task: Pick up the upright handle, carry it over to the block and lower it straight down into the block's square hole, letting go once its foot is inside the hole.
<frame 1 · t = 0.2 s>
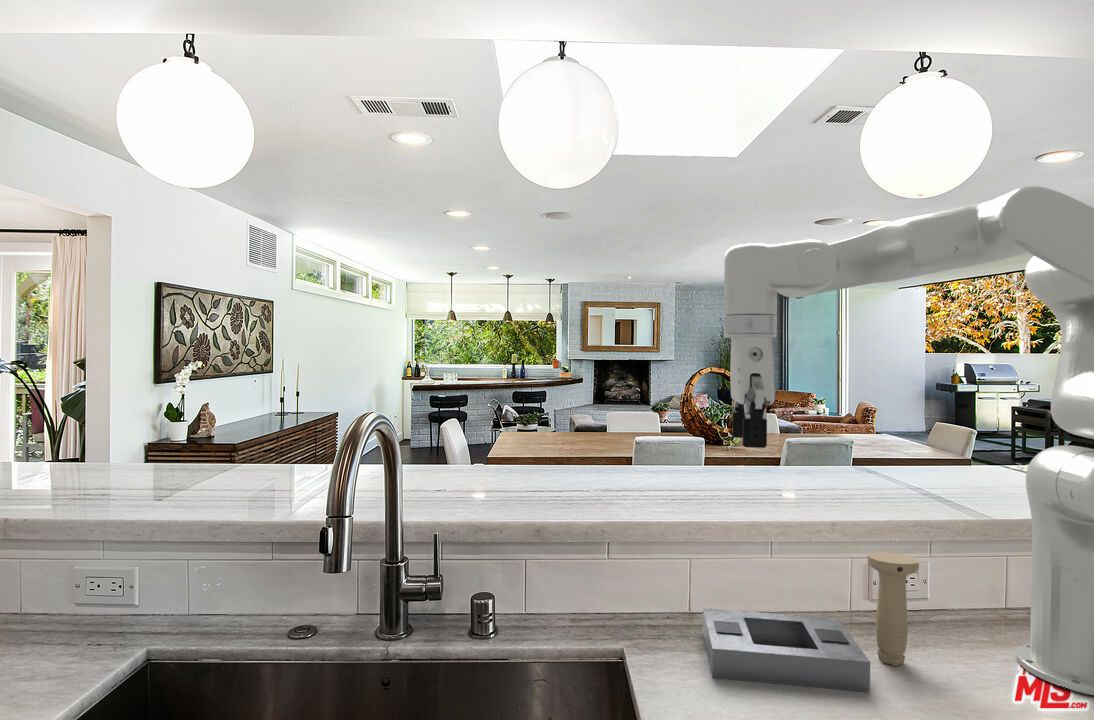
hand: (748, 442, 90), 31 cm above the table, tool pointing down, fingers open, 9 cm apart
block: (778, 660, 86), on the table
handle: (890, 662, 86), on the table
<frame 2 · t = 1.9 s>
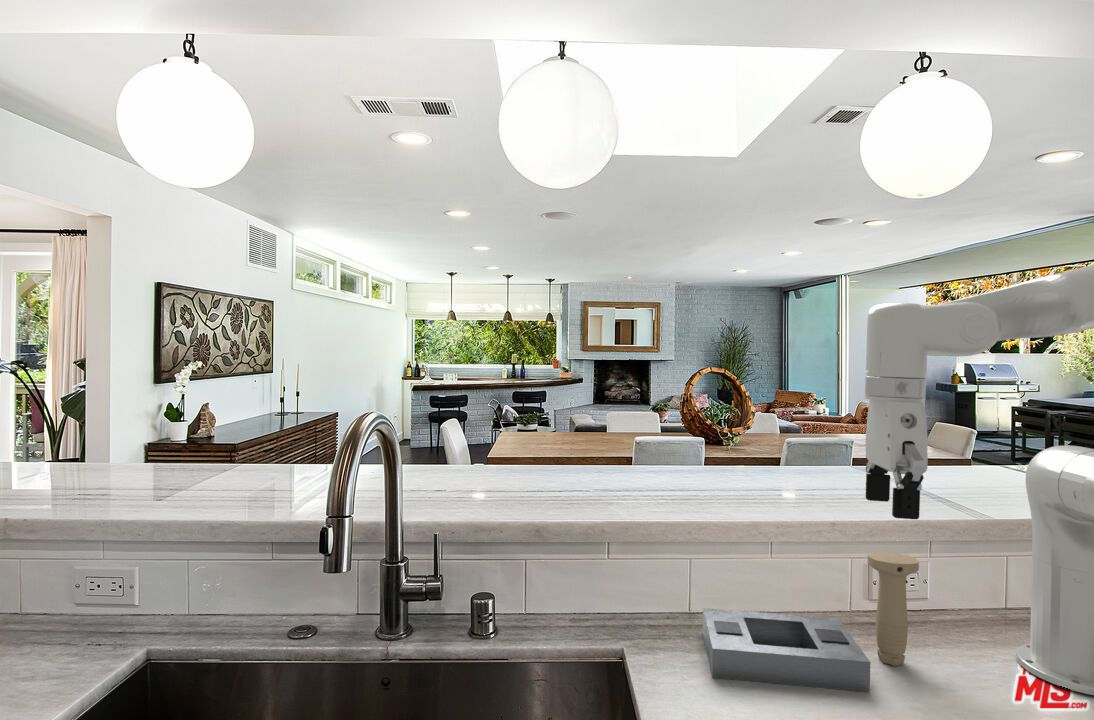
hand: (890, 508, 86), 22 cm above the table, tool pointing down, fingers open, 9 cm apart
nothing on the table moved.
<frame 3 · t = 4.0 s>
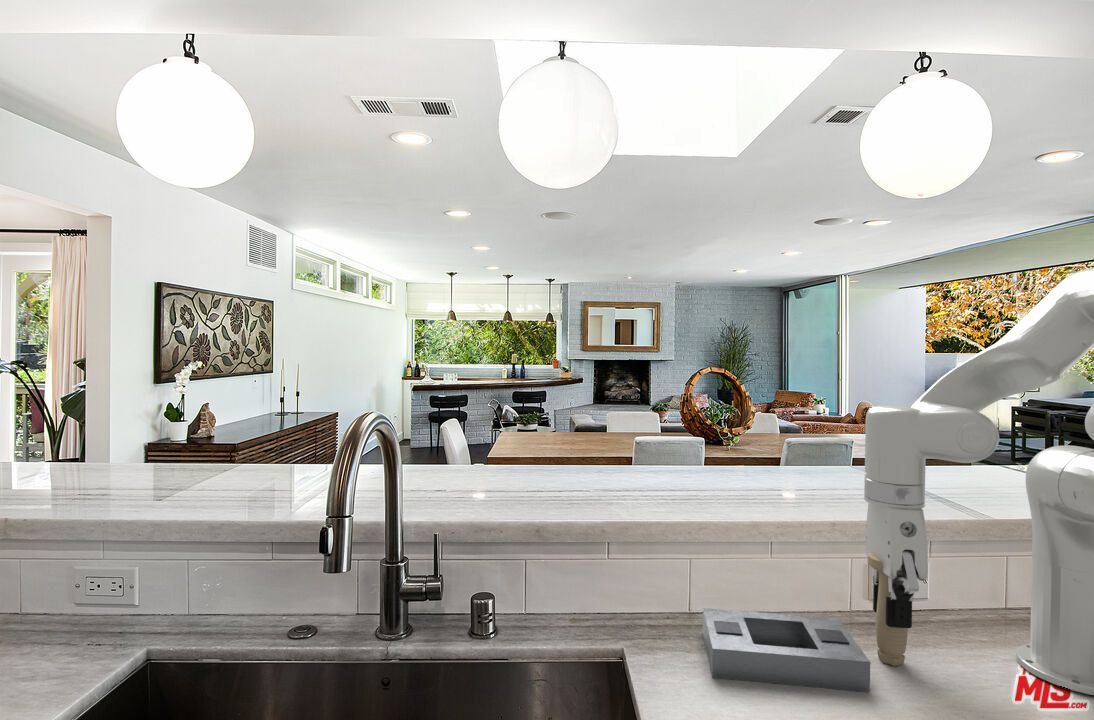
hand: (891, 618, 86), 6 cm above the table, tool pointing down, fingers closed on handle, 3 cm apart
handle: (890, 662, 86), on the table, touching gripper
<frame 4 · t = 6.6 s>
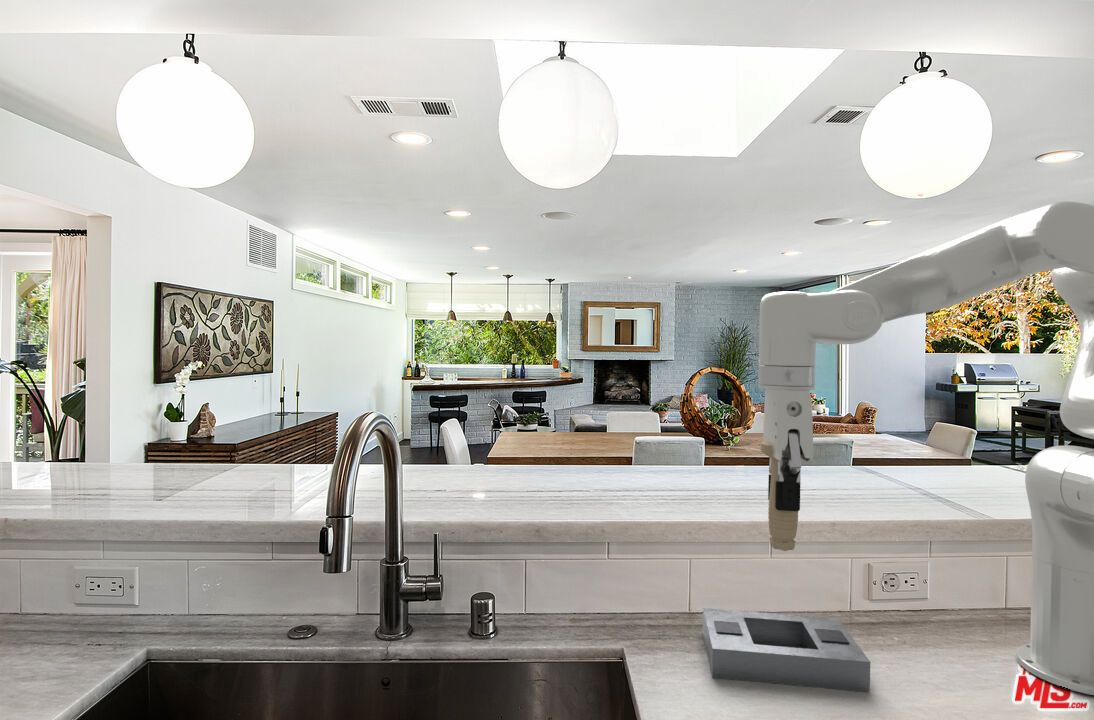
hand: (783, 504, 86), 22 cm above the table, tool pointing down, fingers closed on handle, 3 cm apart
handle: (782, 549, 86), point 16 cm above the table, touching gripper
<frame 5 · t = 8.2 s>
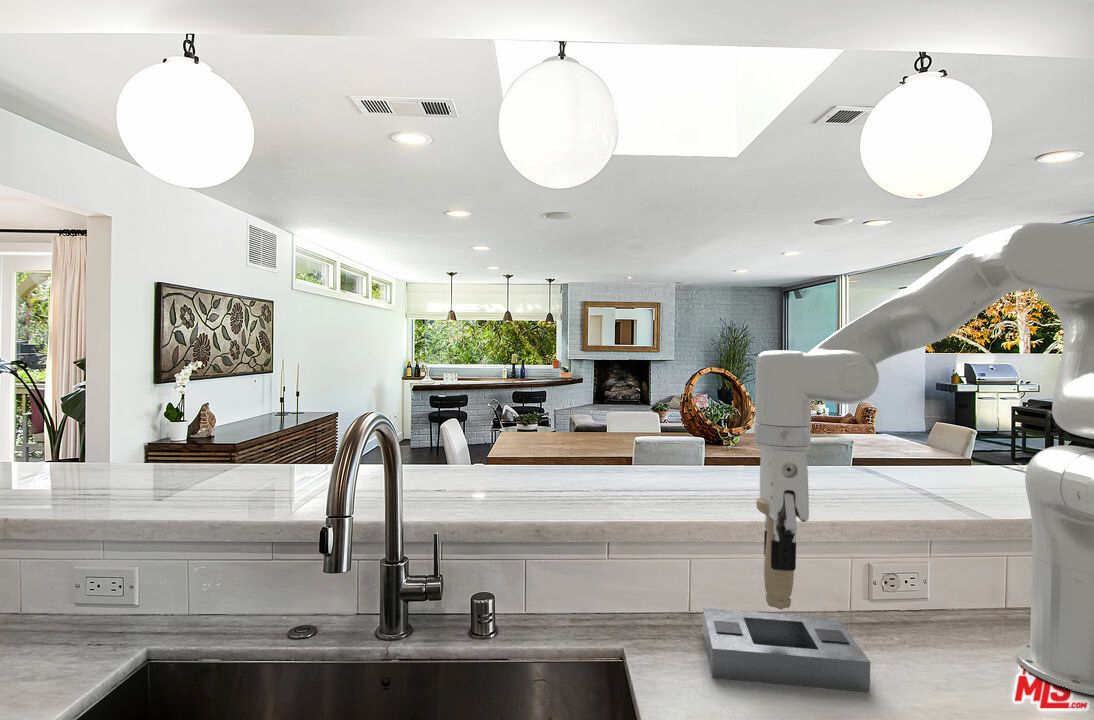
hand: (779, 562, 86), 14 cm above the table, tool pointing down, fingers closed on handle, 3 cm apart
handle: (778, 606, 86), point 8 cm above the table, touching gripper
when the fingers open (8 cm above the table, at t = 9.6 s): handle drops 2 cm, resting in block.
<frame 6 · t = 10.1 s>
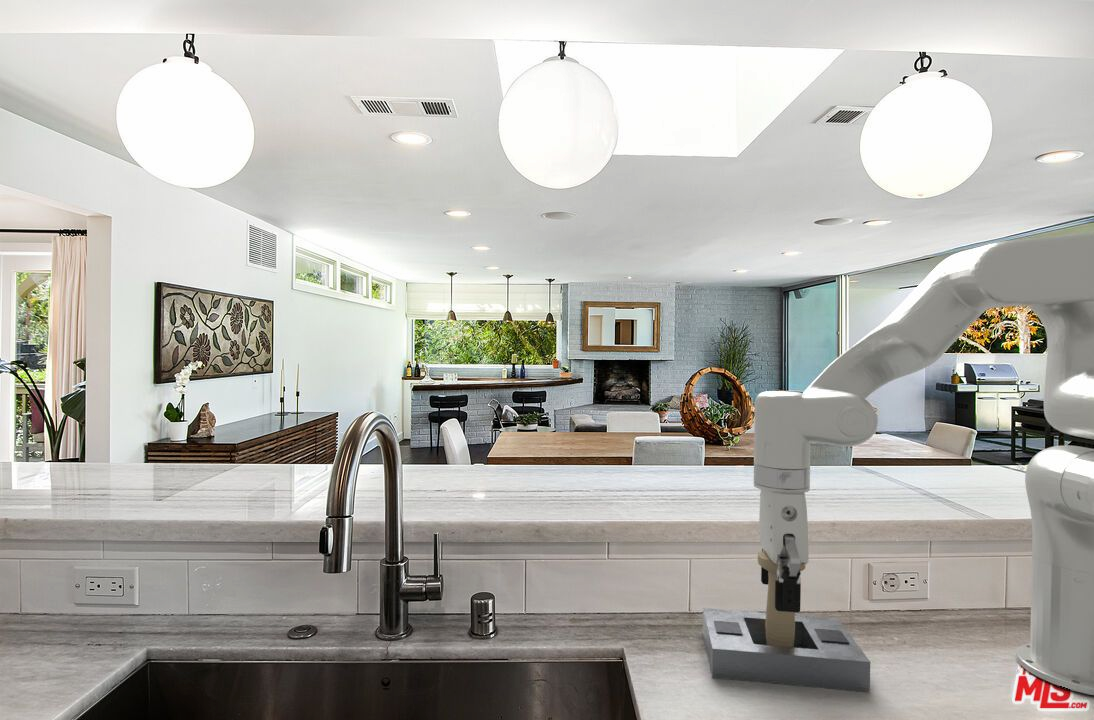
hand: (779, 596, 86), 9 cm above the table, tool pointing down, fingers open, 9 cm apart
handle: (779, 661, 86), resting in block
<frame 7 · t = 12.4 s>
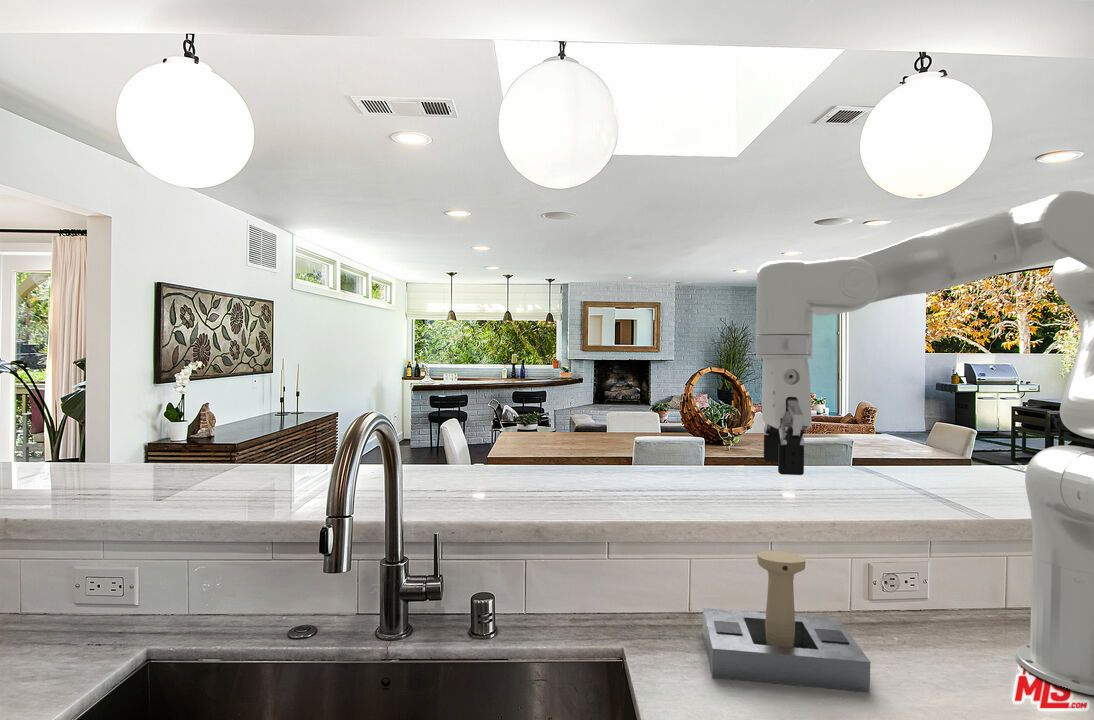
hand: (782, 467, 86), 28 cm above the table, tool pointing down, fingers open, 9 cm apart
nothing on the table moved.
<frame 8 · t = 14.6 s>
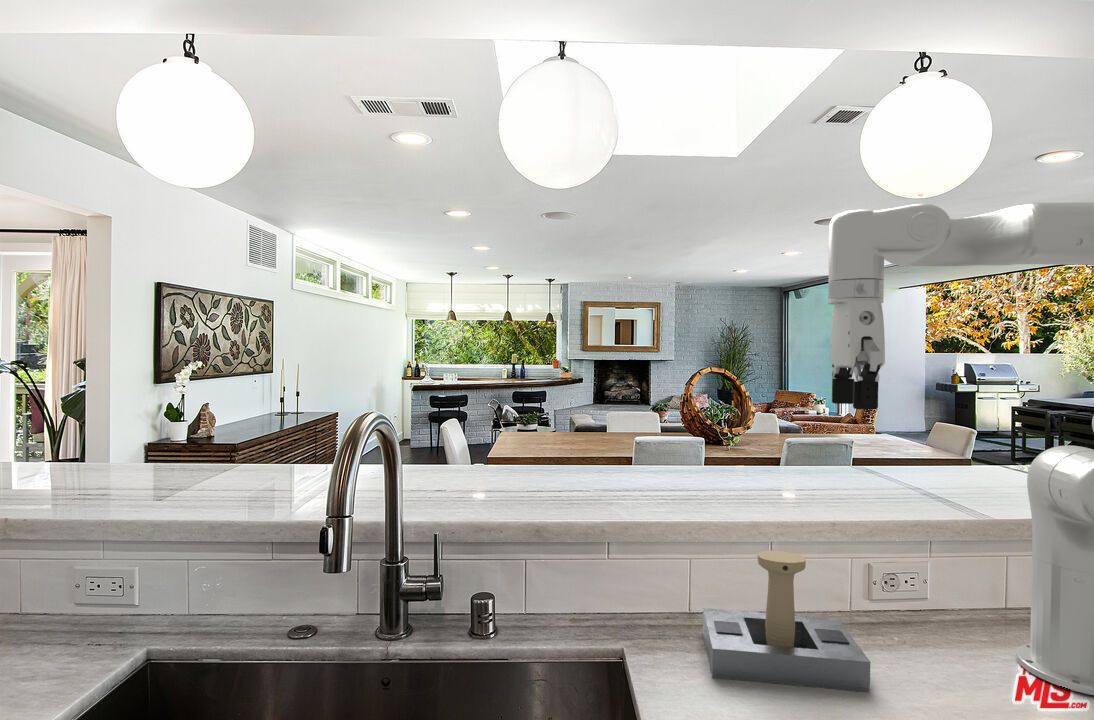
hand: (853, 406, 91), 36 cm above the table, tool pointing down, fingers open, 9 cm apart
nothing on the table moved.
at the end: handle 0.1 cm off-centre on the block, point 0.0 cm above the block's base; handle tilted 0°; the gripper is holding nothing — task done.
